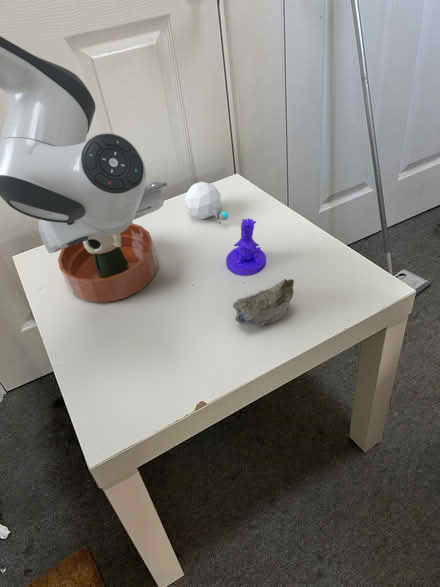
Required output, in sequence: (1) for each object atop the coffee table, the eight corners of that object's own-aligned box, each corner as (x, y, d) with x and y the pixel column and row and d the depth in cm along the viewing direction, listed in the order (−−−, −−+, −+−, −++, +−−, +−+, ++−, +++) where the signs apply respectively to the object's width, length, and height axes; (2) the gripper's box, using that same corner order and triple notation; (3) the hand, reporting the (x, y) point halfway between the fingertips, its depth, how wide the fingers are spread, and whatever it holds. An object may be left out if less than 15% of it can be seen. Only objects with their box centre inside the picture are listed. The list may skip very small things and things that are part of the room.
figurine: (269, 275, 89) (274, 233, 82) (229, 278, 88) (230, 236, 81) (260, 250, 94) (264, 209, 87) (223, 253, 93) (223, 212, 86)
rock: (274, 281, 84) (297, 272, 74) (288, 311, 84) (313, 306, 74) (221, 306, 81) (237, 300, 71) (235, 337, 81) (254, 335, 71)
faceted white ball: (208, 184, 107) (246, 206, 101) (189, 214, 107) (225, 238, 102) (192, 169, 100) (231, 192, 94) (171, 201, 101) (209, 226, 95)
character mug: (82, 271, 94) (60, 218, 85) (108, 252, 97) (89, 199, 88) (118, 290, 88) (98, 236, 79) (144, 269, 92) (128, 215, 83)
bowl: (75, 316, 85) (64, 293, 81) (64, 260, 98) (53, 238, 94) (168, 285, 88) (162, 261, 84) (145, 235, 101) (139, 212, 97)
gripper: (160, 161, 70) (147, 190, 83) (28, 210, 64) (37, 234, 77) (178, 198, 70) (163, 222, 83) (49, 251, 64) (54, 268, 77)
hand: (102, 228), depth 80 cm, fingers open, 8 cm apart
